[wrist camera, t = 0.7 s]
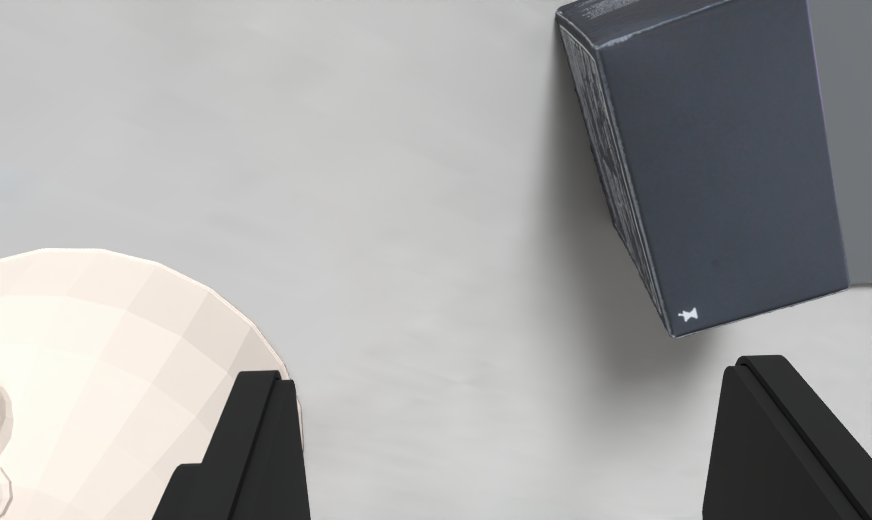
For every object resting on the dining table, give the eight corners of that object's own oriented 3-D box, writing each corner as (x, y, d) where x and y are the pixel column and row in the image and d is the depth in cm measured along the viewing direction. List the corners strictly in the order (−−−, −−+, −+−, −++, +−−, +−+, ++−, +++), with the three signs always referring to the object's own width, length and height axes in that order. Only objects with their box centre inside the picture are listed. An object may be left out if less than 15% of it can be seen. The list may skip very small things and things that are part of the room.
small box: (754, 188, 34) (864, 296, 24) (613, 231, 35) (665, 350, 25) (708, -50, 30) (818, -32, 20) (549, 7, 31) (584, 50, 21)
